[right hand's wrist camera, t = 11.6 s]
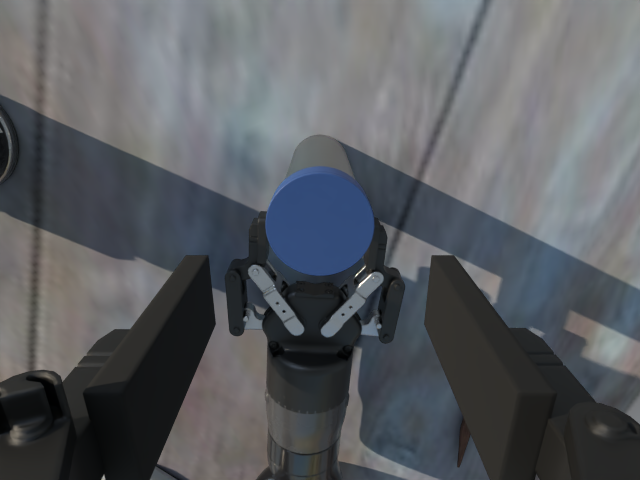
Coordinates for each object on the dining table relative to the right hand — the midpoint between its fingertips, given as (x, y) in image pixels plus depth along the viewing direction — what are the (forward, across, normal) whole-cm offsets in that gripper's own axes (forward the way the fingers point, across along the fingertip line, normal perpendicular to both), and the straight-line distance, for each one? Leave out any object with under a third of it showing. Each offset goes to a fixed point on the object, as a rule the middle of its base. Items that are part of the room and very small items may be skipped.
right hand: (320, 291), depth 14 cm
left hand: (+18, 0, +3) cm, 18 cm away
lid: (+7, 0, 0) cm, 7 cm away
